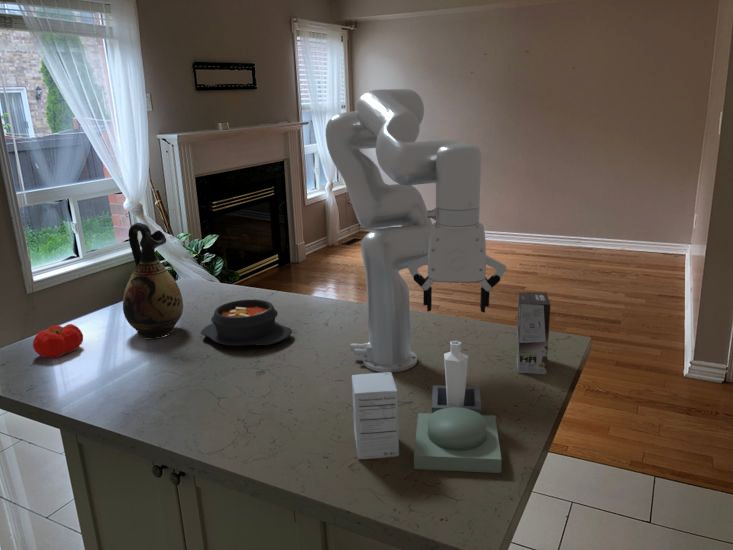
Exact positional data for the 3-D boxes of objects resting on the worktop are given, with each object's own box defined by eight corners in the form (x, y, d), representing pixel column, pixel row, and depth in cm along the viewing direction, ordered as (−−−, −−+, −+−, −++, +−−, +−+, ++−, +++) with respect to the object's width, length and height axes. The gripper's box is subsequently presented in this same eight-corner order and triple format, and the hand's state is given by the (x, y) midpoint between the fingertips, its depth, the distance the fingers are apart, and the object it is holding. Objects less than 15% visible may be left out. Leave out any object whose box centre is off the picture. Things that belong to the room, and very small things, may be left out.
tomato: (28, 359, 148) (23, 335, 146) (61, 343, 158) (56, 319, 156) (60, 363, 146) (56, 338, 144) (92, 345, 156) (88, 322, 154)
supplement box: (353, 437, 108) (350, 373, 105) (394, 434, 109) (392, 370, 105) (356, 460, 101) (353, 393, 98) (400, 457, 102) (398, 389, 98)
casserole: (306, 332, 160) (304, 302, 158) (266, 358, 144) (263, 326, 142) (230, 320, 170) (227, 292, 168) (185, 344, 154) (181, 313, 152)
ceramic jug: (198, 328, 165) (185, 221, 157) (152, 347, 153) (136, 232, 145) (157, 318, 174) (144, 216, 166) (111, 335, 162) (93, 227, 154)
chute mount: (414, 468, 98) (413, 441, 97) (420, 403, 120) (420, 380, 118) (501, 473, 96) (501, 445, 95) (491, 405, 118) (492, 382, 117)
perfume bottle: (469, 411, 116) (470, 339, 112) (464, 422, 112) (465, 348, 108) (445, 408, 118) (446, 336, 113) (440, 418, 114) (440, 345, 110)
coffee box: (547, 374, 130) (551, 304, 126) (517, 373, 131) (519, 303, 127) (544, 357, 139) (547, 291, 134) (515, 356, 140) (518, 290, 136)
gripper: (406, 221, 102) (407, 315, 107) (510, 221, 99) (506, 317, 104) (409, 212, 109) (409, 301, 114) (506, 212, 106) (502, 303, 111)
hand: (455, 309), depth 109 cm, fingers open, 9 cm apart
